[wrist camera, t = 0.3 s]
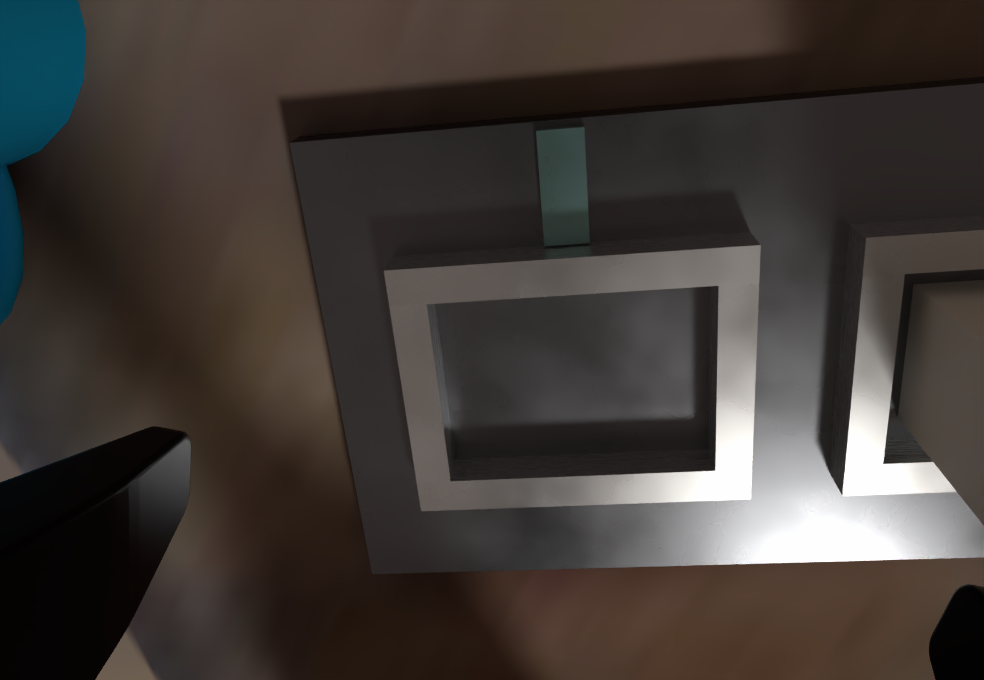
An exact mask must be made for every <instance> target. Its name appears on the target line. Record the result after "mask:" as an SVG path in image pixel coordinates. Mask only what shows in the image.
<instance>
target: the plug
mask: <svg viewBox="0 0 984 680" xmlns="http://www.w3.org/2000/svg"><path fill="white" fill-rule="evenodd" d="M898 418H899V420H900V421H901V422H902V423H903V425H904V426H905V427H906V428H907V430H908V431H909V432H910V433H911V435H912V436H913V437H914V438H915V440H916V441H917V442H918V444H919V445H920V446H921V447H922V449H923V450H924V451H925V452H926V454H927V455H928V456H929V457H930V459H931V460H932V461H933V462H934V464H935V465H936V466H937V467H938V469H939V470H940V471H941V473H942V474H943V475H944V476H945V478H946V479H947V480H948V481H949V483H950V484H951V485H952V486H953V488H954V489H955V490H956V491H957V493H958V494H959V495H960V496H961V498H962V499H963V500H964V501H965V503H966V504H967V505H968V507H969V508H970V509H971V510H972V512H973V513H974V514H975V515H976V517H977V518H978V519H979V520H980V522H981V523H982V524H983V525H984V280H974V281H958V282H942V283H926V284H914V285H913V293H912V301H911V310H910V318H909V327H908V335H907V344H906V352H905V360H904V369H903V377H902V386H901V394H900V403H899V411H898Z"/></svg>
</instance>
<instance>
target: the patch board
mask: <svg viewBox="0 0 984 680" xmlns="http://www.w3.org/2000/svg"><path fill="white" fill-rule="evenodd" d="M290 148H291V153H292V159H293V164H294V169H295V174H296V180H297V185H298V190H299V195H300V200H301V206H302V211H303V216H304V221H305V227H306V232H307V237H308V242H309V247H310V253H311V258H312V263H313V268H314V274H315V279H316V284H317V289H318V295H319V300H320V305H321V310H322V315H323V321H324V326H325V331H326V336H327V342H328V347H329V352H330V357H331V362H332V368H333V373H334V378H335V383H336V389H337V394H338V399H339V404H340V410H341V415H342V420H343V425H344V430H345V436H346V441H347V446H348V451H349V457H350V462H351V467H352V472H353V477H354V483H355V488H356V493H357V498H358V504H359V509H360V514H361V519H362V525H363V530H364V535H365V540H366V545H367V551H368V556H369V561H370V566H371V572H372V574H399V573H435V572H471V571H506V570H542V569H578V568H614V567H649V566H685V565H721V564H756V563H792V562H828V561H863V560H899V559H935V558H970V557H984V525H983V524H982V523H981V522H980V520H979V519H978V518H977V517H976V515H975V514H974V513H973V512H972V510H971V509H970V508H969V507H968V505H967V504H966V503H965V501H964V500H963V499H962V498H961V496H960V495H959V494H958V493H957V491H956V490H955V489H954V488H953V486H952V485H951V484H950V483H949V481H948V480H947V479H946V478H945V476H944V475H943V474H942V473H941V471H940V470H939V469H938V467H937V466H936V465H935V464H934V462H933V461H932V460H931V459H930V457H929V456H928V455H927V454H926V452H925V451H924V450H923V449H922V447H921V446H920V445H919V444H918V442H917V441H916V440H915V438H914V437H913V436H912V435H911V433H910V432H909V431H908V430H907V428H906V427H905V426H904V425H903V423H902V422H901V421H900V420H899V418H898V411H899V403H900V394H901V386H902V377H903V369H904V360H905V352H906V344H907V335H908V327H909V318H910V310H911V301H912V293H913V285H914V284H926V283H942V282H958V281H974V280H984V77H979V78H967V79H956V80H944V81H932V82H921V83H909V84H898V85H886V86H875V87H863V88H852V89H840V90H829V91H817V92H806V93H794V94H783V95H771V96H760V97H748V98H737V99H725V100H714V101H702V102H691V103H679V104H667V105H656V106H644V107H633V108H621V109H610V110H598V111H587V112H575V113H564V114H552V115H541V116H529V117H518V118H506V119H495V120H483V121H472V122H460V123H449V124H437V125H425V126H414V127H402V128H391V129H379V130H368V131H356V132H345V133H333V134H322V135H310V136H300V137H299V138H297V139H295V140H294V141H292V142H290Z"/></svg>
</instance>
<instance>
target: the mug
mask: <svg viewBox="0 0 984 680" xmlns="http://www.w3.org/2000/svg"><path fill="white" fill-rule="evenodd" d="M85 33H86V30H85V26H84V22H83V18H82V14H81V11H80V7H79V3H78V0H0V325H1V324H2V322H3V321H4V320H5V319H6V318H7V317H8V316H9V315H10V313H11V311H12V308H13V305H14V302H15V299H16V296H17V293H18V291H19V288H20V285H21V282H22V279H23V252H24V234H23V228H22V223H21V218H20V212H19V207H18V202H17V197H16V191H15V187H14V185H13V182H12V179H11V177H10V174H9V171H8V169H7V166H8V165H10V164H13V163H15V162H17V161H19V160H21V159H23V158H26V157H28V156H30V155H32V154H34V153H37V152H39V151H41V150H42V149H43V148H44V147H45V146H46V144H47V143H48V142H49V141H50V140H51V139H52V138H53V137H54V136H55V135H56V134H57V133H58V131H59V130H60V129H61V128H62V127H63V126H64V125H65V124H66V123H67V122H68V120H69V118H70V115H71V112H72V110H73V107H74V105H75V102H76V99H77V97H78V94H79V91H80V89H81V86H82V84H83V81H84V63H85Z"/></svg>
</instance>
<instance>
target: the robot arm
mask: <svg viewBox="0 0 984 680" xmlns="http://www.w3.org/2000/svg"><path fill="white" fill-rule="evenodd" d="M190 465H191V441H190V437H189V436H188V435H187V433H185V432H182V431H177V430H172V429H167V428H162V427H157V426H155V427H149V428H146V429H144V430H141V431H138V432H135V433H133V434H130V435H127V436H125V437H122V438H119V439H117V440H114V441H111V442H108V443H106V444H103V445H100V446H98V447H95V448H92V449H90V450H87V451H84V452H81V453H79V454H76V455H73V456H71V457H68V458H65V459H63V460H60V461H57V462H54V463H52V464H49V465H46V466H44V467H41V468H38V469H35V470H33V471H30V472H27V473H25V474H22V475H19V476H17V477H14V478H11V479H8V480H6V481H3V482H0V680H95V679H96V677H97V676H98V674H99V673H100V671H101V670H102V668H103V666H104V665H105V663H106V662H107V660H108V659H109V657H110V655H111V654H112V652H113V651H114V649H115V647H116V646H117V644H118V643H119V641H120V639H121V638H122V636H123V634H124V633H125V631H126V629H127V628H128V626H129V624H130V622H131V621H132V619H133V617H134V615H135V613H136V611H137V609H138V607H139V605H140V603H141V601H142V599H143V597H144V595H145V593H146V591H147V589H148V587H149V585H150V582H151V580H152V578H153V576H154V574H155V572H156V570H157V568H158V566H159V564H160V562H161V560H162V558H163V556H164V554H165V552H166V550H167V548H168V546H169V543H170V541H171V539H172V537H173V535H174V533H175V531H176V529H177V527H178V525H179V523H180V521H181V519H182V517H183V515H184V512H185V510H186V507H187V503H188V499H189V492H190ZM929 656H930V661H931V665H932V669H933V672H934V676H935V679H936V680H984V587H981V586H976V585H970V584H966V585H963V586H961V587H959V588H958V589H957V590H956V591H955V592H954V594H953V596H952V598H951V599H950V601H949V603H948V605H947V607H946V609H945V611H944V613H943V615H942V617H941V618H940V620H939V622H938V624H937V626H936V628H935V630H934V632H933V634H932V636H931V639H930V643H929Z"/></svg>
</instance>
